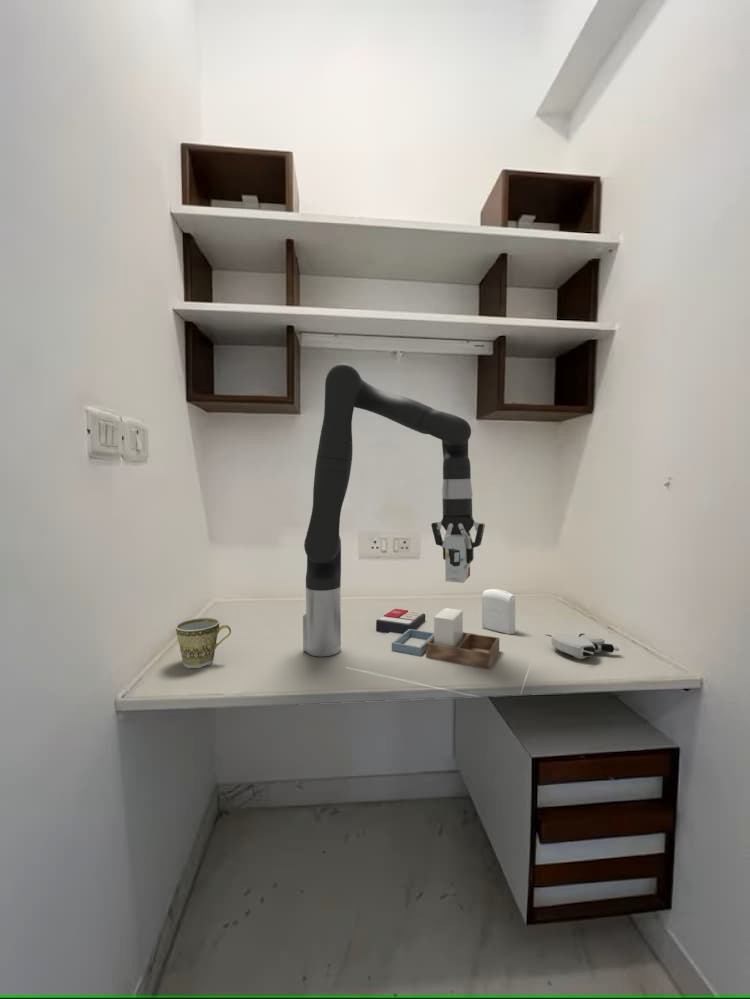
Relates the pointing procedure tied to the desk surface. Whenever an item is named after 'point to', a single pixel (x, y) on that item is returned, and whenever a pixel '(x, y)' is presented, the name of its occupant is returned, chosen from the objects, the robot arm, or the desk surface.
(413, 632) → the tray
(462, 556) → the ink box
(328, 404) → the robot arm
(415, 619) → the calculator
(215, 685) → the desk surface
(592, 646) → the robot toy
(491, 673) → the desk surface
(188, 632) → the ceramic cup
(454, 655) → the brown divided wooden organizer
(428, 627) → the desk surface
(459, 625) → the white box
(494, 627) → the photo printer
